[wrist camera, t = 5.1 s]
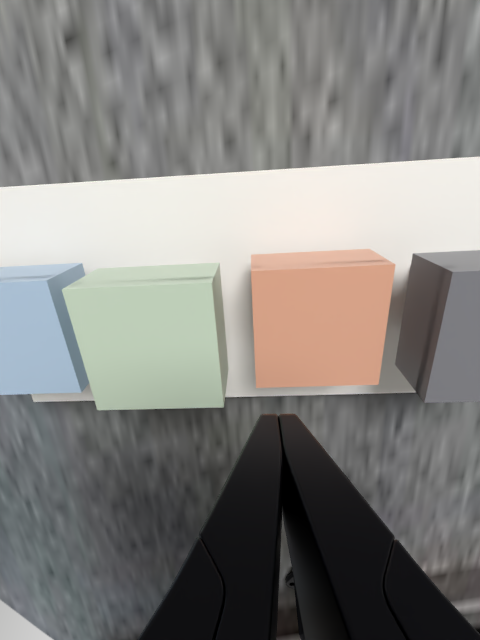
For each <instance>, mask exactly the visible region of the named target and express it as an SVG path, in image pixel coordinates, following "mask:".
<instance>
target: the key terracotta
mask: <svg viewBox="0 0 480 640" xmlns="http://www.w3.org/2000/svg"><path fill="white" fill-rule="evenodd" d="M395 265H396V264H394V263H392V262H391V261H389V260H387V259H386V258H384V257H382V256H381V255H379V254H377V253H376V252H374V251H372V250H371V249H354V250H334V251H313V252H293V253H273V254H253V255H251V285H252V307H253V330H254V352H255V375H256V388H273V387H311V386H349V385H379V378H380V371H381V363H382V356H383V349H384V342H385V335H386V328H387V321H388V314H389V307H390V300H391V293H392V286H393V279H394V272H395Z"/></svg>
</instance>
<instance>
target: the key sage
mask: <svg viewBox="0 0 480 640" xmlns="http://www.w3.org/2000/svg"><path fill="white" fill-rule="evenodd" d="M62 292H63V296H64V299H65V303H66V306H67V309H68V313H69V316H70V319H71V323H72V326H73V330H74V333H75V336H76V340H77V343H78V346H79V350H80V353H81V356H82V360H83V363H84V367H85V370H86V373H87V377H88V380H89V383H90V387H91V390H92V393H93V397H94V400H95V404H96V407H97V410H131V409H175V408H218V407H224V402H225V394H226V386H227V378H228V370H229V369H228V357H227V345H226V333H225V321H224V309H223V297H222V286H221V274H220V263H200V264H180V265H159V266H138V267H118V268H98V269H96V270H94V271H92V272H91V273H89V274H87V275H86V276H84V277H82V278H80V279H79V280H77V281H75V282H74V283H72V284H70V285H68V286H67V287H65V288H63V289H62Z"/></svg>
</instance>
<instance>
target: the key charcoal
mask: <svg viewBox="0 0 480 640" xmlns="http://www.w3.org/2000/svg"><path fill="white" fill-rule="evenodd" d="M395 365H396V366H397V368H398V369H399V370H400V372H401V373H402V374H403V376H404V377H405V378H406V379H407V381H408V382H409V383H410V385H411V386H412V387H413V389H414V390H415V391H416V393H417V394H418V395H419V396H420V398H421V399H422V400H423V402H424V403H440V402H480V250H471V251H451V252H430V253H413V255H412V261H411V268H410V274H409V280H408V286H407V292H406V299H405V305H404V311H403V317H402V323H401V330H400V336H399V342H398V348H397V354H396V360H395Z"/></svg>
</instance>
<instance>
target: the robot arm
mask: <svg viewBox="0 0 480 640" xmlns="http://www.w3.org/2000/svg"><path fill="white" fill-rule="evenodd" d="M282 511H283V519H284V525H285V531H286V536H287V542H288V547H289V553H290V558H291V564H292V569H293V572H292V573H290V574H289V575H288V576H287V577H286V585H287V586H288V587H290V588H293V589H295V597H296V607H297V617H298V626H299V635H300V638H301V640H480V634H479V633H478V632H477V631H476V630H475V629H474V627H473V626H472V625H471V624H470V623H469V622H468V621H467V620H466V619H465V618H464V617H463V616H462V614H461V613H460V612H459V611H458V610H457V609H456V608H455V607H454V606H453V605H452V604H451V602H450V601H449V600H448V599H447V598H446V597H445V596H444V595H443V594H442V593H441V591H440V590H439V589H438V588H437V587H436V586H435V584H434V583H433V582H432V581H431V580H430V578H429V577H428V576H427V575H426V574H425V573H424V571H423V570H422V569H421V568H420V567H419V565H418V564H417V563H416V562H415V561H414V560H413V558H412V557H411V556H410V555H409V553H408V552H407V551H406V550H405V548H404V547H403V546H402V545H401V543H400V542H399V541H398V540H394V535H393V534H392V532H391V531H390V530H389V529H388V528H387V526H386V525H385V524H384V523H383V521H382V520H381V519H380V518H379V516H378V515H377V514H376V513H375V511H374V510H373V509H372V508H371V507H370V505H369V504H368V503H367V502H366V500H365V499H364V498H363V497H362V495H361V494H360V493H359V492H358V490H357V489H356V488H355V487H354V486H353V484H352V483H351V482H350V481H349V479H348V478H347V477H346V476H345V474H344V473H343V472H342V471H341V470H340V468H339V467H338V466H337V465H336V463H335V462H334V461H333V460H332V458H331V457H330V456H329V455H328V453H327V452H326V451H325V450H324V449H323V447H322V446H321V445H320V444H319V442H318V441H317V440H316V439H315V437H314V436H313V435H312V434H311V432H310V431H309V430H308V429H307V428H306V426H305V425H304V424H303V423H302V421H301V420H300V419H299V418H298V416H297V415H295V414H280V415H279V416H277V415H276V414H262V415H260V417H259V419H258V421H257V422H256V424H255V426H254V428H253V430H252V432H251V434H250V436H249V438H248V440H247V442H246V444H245V446H244V448H243V450H242V452H241V454H240V456H239V457H238V459H237V461H236V463H235V465H234V467H233V469H232V471H231V473H230V475H229V477H228V479H227V481H226V483H225V485H224V487H223V489H222V491H221V492H220V494H219V496H218V498H217V500H216V502H215V504H214V506H213V508H212V510H211V512H210V514H209V516H208V518H207V520H206V522H205V524H204V526H203V527H202V529H201V531H200V533H199V538H197V539H196V541H195V543H194V544H193V546H192V548H191V550H190V552H189V554H188V556H187V558H186V560H185V562H184V564H183V565H182V567H181V569H180V571H179V573H178V574H177V576H176V578H175V580H174V582H173V583H172V585H171V587H170V589H169V590H168V592H167V594H166V595H165V597H164V599H163V600H162V602H161V603H160V605H159V607H158V608H157V610H156V611H155V613H154V615H153V616H152V618H151V619H150V621H149V623H148V624H147V626H146V627H145V629H144V630H143V632H142V633H141V635H140V637H139V638H138V640H276V633H277V612H278V591H279V570H280V549H281V528H282Z"/></svg>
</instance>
